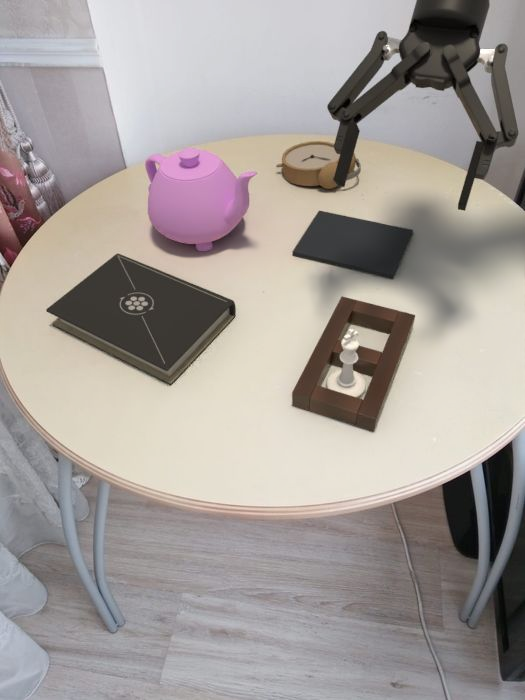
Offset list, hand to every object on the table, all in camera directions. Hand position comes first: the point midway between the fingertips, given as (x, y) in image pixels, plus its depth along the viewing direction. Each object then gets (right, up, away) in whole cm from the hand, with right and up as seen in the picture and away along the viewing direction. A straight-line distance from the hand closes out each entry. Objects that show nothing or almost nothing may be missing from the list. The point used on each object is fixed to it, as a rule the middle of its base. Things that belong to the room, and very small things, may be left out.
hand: (398, 195), depth 61 cm
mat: (0, 0, +27) cm, 28 cm away
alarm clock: (-4, +15, +42) cm, 45 cm away
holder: (-3, -19, +10) cm, 22 cm away
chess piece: (-5, -22, +8) cm, 24 cm away
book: (-31, -13, +18) cm, 39 cm away
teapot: (-24, +3, +32) cm, 40 cm away
